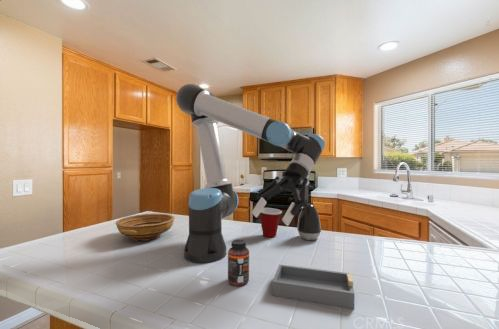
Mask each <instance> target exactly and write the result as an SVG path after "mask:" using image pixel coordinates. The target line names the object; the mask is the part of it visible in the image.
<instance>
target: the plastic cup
mask: <svg viewBox="0 0 499 329" xmlns="http://www.w3.org/2000/svg"><path fill="white" fill-rule="evenodd" d="M282 213H283V211H282V210H280V209H278V208H272V207H264V208H263V209H262V211H261V212H260V214H259V218H260V224H261V230H262V235H263V237H264V238H267V239H272V238H273V239H274V238H276V237H277V234H278V226H279V222H280V217H281V214H282Z"/></svg>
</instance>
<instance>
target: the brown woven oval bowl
mask: <svg viewBox="0 0 499 329" xmlns="http://www.w3.org/2000/svg"><path fill="white" fill-rule="evenodd" d="M175 218H176V217H175V216H174V215H172V214H168V213H143V214H135V215H130V216H129V215H128V216H126V217H122V218H120V219H118V220H116V221H115V225H116V229H117V230H118V232H119V233H120V234H121V235H122V236H125V237H129V238H131V239H132V240H134V239H135V240H134V241H137V240H146V241H151V240H150V239H152V240H155V239H157V237H158V236H159V235H160V236H161V235H162V234H164V233H165V232H167V231H169V230H170V229H171V228H172V226H173V225H174V220H175ZM160 236H159V237H160ZM159 237H158V238H159ZM154 238H155V239H154Z"/></svg>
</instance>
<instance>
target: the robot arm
mask: <svg viewBox="0 0 499 329" xmlns="http://www.w3.org/2000/svg"><path fill="white" fill-rule="evenodd" d="M175 96H176V99H175V100H176V105H177V106H178V108H179V109H180V111H182V112H183V113H185V114H187V115H190V119H191V123H192V124H191V125H192V126H194V127H195V128H196V130H197V131H196V132H197V136H198V141H199V147H200V153H201V158H202V163H203V169H204V175H205V180H206V184H205V186H204V187H203V188H199V189H195V190H193V191H191V192H190V193H189V196H188V202H187V203H188V204H187V205H188V236H187V239H186V241H185V242H186V243H185V245H184V249H183V258H184V259H185V260H186V261H189V262H192V263H203V264H205V263H212V262H217V261H219V260H222V259H223V258H225V257H226V255H227V246H226V242H225V239H224V236H223V233H222V232H223V231H222V230H223V229H222V224H223V223H222V219H224V218H227V217H229V216H230V215H232V214H233V213H234V212H236V210H237V208H238V206H239V196H238V193H237V192H236V191H235V190H234V188H233V183H232V182H231V181H230V180H229V179H228V175H227V172H226V171H227V170H226V165H225V160H224V155H223V150H222V146H221V140H220V135H219V134H220V133H219V129H218V124H219V122H220V123H222V124H224V125H227V126H228V127H232V128H234V129H236V130H238V131H241V132H244V133H246V134H248V135H251V136H253V137H256V138H258V139H260V140H262V141H264V142H265V141H266V142H268V143H269V144H271V145H274V146H276V147H280V148H282V149H285V150H287V151H289V152H291V153H293V154H294V156H293V157H292V160H291V161H290V162H289V164H288V165H287V168H286V169H285V171H284V176H283V177H282V178H280V177H279V176H278V175H277V176H276V177H274V179H273V180H272V181H271V182H270V183H268V185H266V186H265V187H263V189H262V190H260V191H259V192H258V193H257V196H258V198H259V199H258V200H257V202H256V203H255V206H254V207H253V209H252V210H251V212H250V213H251V214H252V215H253V217H255V219H256V218H258V217H259V216H260V212H261V211H262V209H263V208H265V206H266V204H267V203H268V202H267V201H268V200H270V199H272V198H273V197H274V196H276V195H277V194H280V193H283V192H289V193H292V194H293V199H294V200H293V201H292V202H291V203H290V205H289V207H288V208H287V211H286V212H285V214H284V216H283V217H282V218H281V221H282V222H283V223H284V225H286V226H288V227H289V225H290V224H291V222H292V220H293V218H294V216H297V214H298V212H299V211H300V208H301V207H304V206H305V207H307V206H308V204H309V188H310V186H311V183H310V181H309V180H308V177H309V174H310V173H311V172H312V169H314V166H315V164H316V163H317V161H318V159H319V158H320V156H321V155H322V152H323V151H324V149H325V146H326V142H325V139H324V138H323V137H322V136H321V135H319V134H316V133H310V134H308V135H307V136H306V135H304V134H301V133H299V132H297V131H296V130H293V129H292V128H291V126H290V125H289V124H288V123H286V122H284V121H278V120H275V119H272V118H271V117H268V116H265V115H263V114H260V113H258V112H255V111H253V110H249V109H247V108H244V107H242V106H239V105H237V104H234V103H232V102H229V101H226V100H224V99H222V98H218V97H216V95H214V94H213V93H212V92H210V91H208V90H205V89H204V88H202V87H201V86H199V85H198V84H193V83H187V84H184V85H182V86H181V87H179V89H178V91H177V93H176V95H175ZM300 187H301V191H299V188H300ZM300 192H301V193H300ZM300 194H301V195H300Z"/></svg>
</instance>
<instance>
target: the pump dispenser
mask: <svg viewBox="0 0 499 329" xmlns="http://www.w3.org/2000/svg"><path fill="white" fill-rule="evenodd" d="M300 210H301V211H300ZM299 211H300V213H299V215H298V220H297V226H296V227H297V228H296V230H297V232H298V235H299V236H300V237H301V238H302V239H304V240H307V241H314V240H317V239H318V238H319V237H320V234H321V232H322V226H321V225H322V224H321V219H320V216H319V213H318V211H317V208H316V207H315V205H313V203H308V206H307V207H305V206H302V207H301V208H300V209H299Z"/></svg>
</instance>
